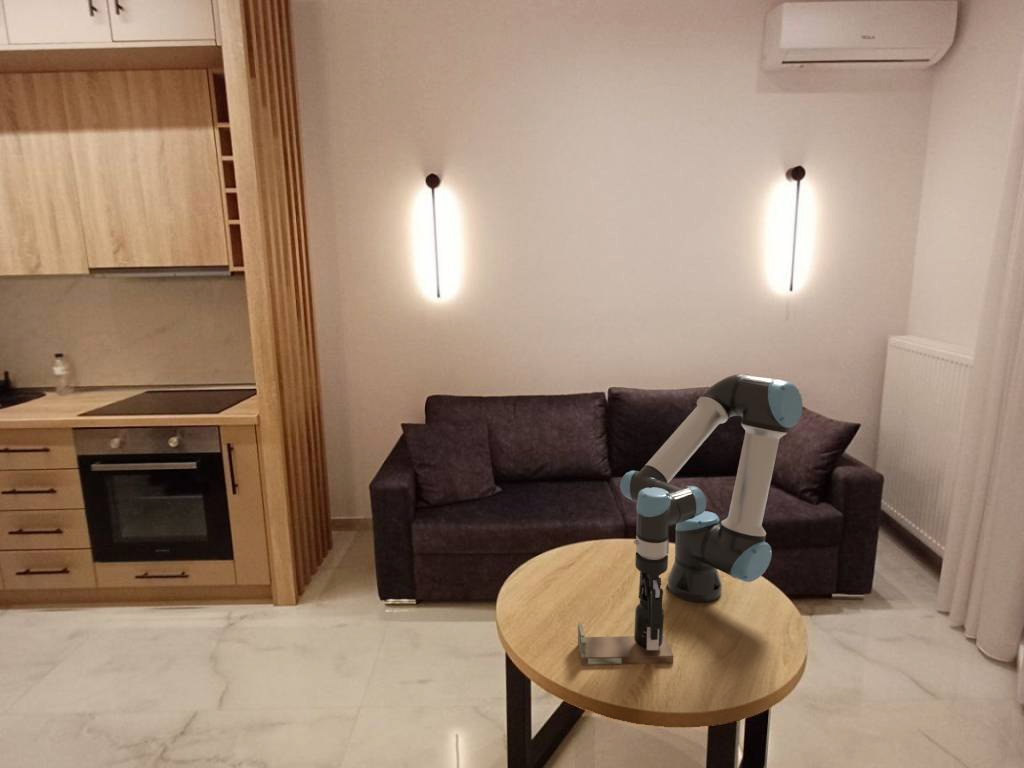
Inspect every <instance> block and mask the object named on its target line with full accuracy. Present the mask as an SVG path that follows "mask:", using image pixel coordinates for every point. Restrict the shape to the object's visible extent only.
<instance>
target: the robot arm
mask: <svg viewBox="0 0 1024 768" xmlns="http://www.w3.org/2000/svg"><path fill="white" fill-rule="evenodd" d="M802 413H803V397H802V394H801V393H800V390H799V388H798V387H797V386H796V385H795V384H794V383H793V382H790V381H786V380H783V379H779V378H769V377H762V376H758V375H750V374H745V373H737V374H733V375H729V376H727V377H725V378H723V379H721V380H719V381H717V382H716V383H714V384H713V385H711V386H710V387H708V388H707V389H706V391H704V392H703V393H702V394H701V396H700V397H699V398H697V400H696V407H695V408H694V409H693V410H692V412H690V414H689V415H688V416H686V419H684V420H683V422H681V424H680V425H679V426H678V427H677V428H676V430H674V432H673V433H672V434H671V435H670V436H669V438H668V439H667V440H666V441H665V442H664V443H663V444H662V445H661V447H660V448H659V449H658V450H657V451H656V452H655V453H654V454H653V456H652V457H651V458H650V459H649V460H648V461H647V463H645V465H644V466H643V467H642V468H641V469H640V470H639V471H638V470H630V471H628V472H626V473H625V474H624V475H623V476H622V479H620V480H621V481H620V486H619V487H620V490H621V494H622V495H623V496H624V497H626V498H627V499H629V500H631V501H632V502H634V503H636V507H635V510H636V536H635V537H636V539H634V540H633V543H634V544H635V550H636V552H635V563H634V564H635V568H636V569H637V570H638V571H639V585H638V586H639V588H638V599H639V600H640V596H641V594H642V593H645V595H646V596H647V598H648V620H649V623H648V624H646V627H647V650H659V629H662V609H663V595H664V589H663V588H661V586H662V578H661V577H660V576H661V575H662V574H664V573H666V571H668V568H669V567H668V565H669V556H668V554H669V550H670V549H669V548H670V547H669V546H670V544H669V543H670V527H672V526H674V525H675V535H674V536H675V541H674V545H675V546H674V550H675V551H674V563H673V565H672V567H671V570H670V572H669V573H668V574H669V575H668V578H667V588H668V590H669V591H670V592H671V594H673V595H675V597H678V598H680V599H683V600H686V601H687V602H688V601H689V602H695V603H707V602H708V603H709V602H712V601H715V600H717V599H718V598H719V597H721V595H722V588H723V587H722V581H721V578H720V574H719V571H720V572H722V573H724V574H727V575H729V576H731V577H732V578H733V579H737V580H739V581H742V582H746V583H750V582H751V583H752V582H754V581H757V580H758V579H759V578H761V576H762V575H763V574H764V573H765V572H766V571H767V569H768V567H769V565H770V562H771V560H772V553H773V551H772V547H771V545H770V544H769V543H768V542H766V541H765V540H766V535H767V532H766V530H765V529H764V527H763V525H762V524H763V520H764V515H765V511H766V506H767V501H768V495H769V492H770V491H769V490H770V486H771V483H772V482H771V481H772V477H773V473H774V472H773V471H774V467H775V463H776V458H777V454H778V453H777V452H778V448H779V443H780V439H781V438H783V437H784V436H785V435H787V434H788V431H789V428H793V427H795V426H796V425H797V424H798V422H799V420H800V419H801V416H802ZM735 416H736V417H737V416H738V417H741V422H740V425H741V427H742V428H743V429H744V430H745V431H744V432H745V433H744V439H743V444H742V447H741V453H740V458H739V463H738V468H737V473H736V478H735V482H734V487H733V492H732V495H731V496H732V497H731V503H730V505H729V511H728V516H727V517H726V518H725V519H723V520H721V521H720V517H719V516H718V515H717V514H716V513H715V512H711V511H708V510H707V511H706V508H707V498H706V496H705V493H704V492H703V491H702V490H701V489H700V488H699V487H698V486H695V485H688V486H687V485H685V486H683V487H679V486H676V485H674V484H671V483H670V482H671V481H672V479H673V478H674V477H676V475H677V473H678V472H680V471H681V469H682V468H683V467H684V465H686V463H687V462H688V461H689V459H690V458H691V457H692V456H693V455H694V454H695V453H696V452H697V450H698V449H699V448H700V447H701V446H702V445H703V443H704V442H705V441H706V440H707V439H708V438H709V436H710V435H711V434H712V433H713V431H714V430H715V429H716V428H717V427H718V426H719V425H720V424H724V423H726V422H727V421H728V419H730V418H731V417H735ZM648 592H651V593H648Z"/></svg>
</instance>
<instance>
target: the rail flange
mask: <svg viewBox="0 0 1024 768" xmlns="http://www.w3.org/2000/svg"><path fill="white" fill-rule="evenodd" d="M583 626H584V625H583V622H578V623H577V647H578V653H579V657H580V663H581V665H582V666H586V665H588V666H590V665H591V666H592V665H593V666H594V665H601V666H602V665H631V664H632V665H642V664H643V665H644V664H645V665H650V664H673V663H674V654H673V651H672V648H671V646H670V644H669V642H668V640H667V637H666V635H663V640H662V644H661V646H660V647H659V650H647V649H646V648H643V647H641V646H639V645H638V644H637V643H636V642H635V639H634V635H632V636H630V635H629V636H626V635H625V636H623V635H621V636H586V635H585V631H584V627H583Z"/></svg>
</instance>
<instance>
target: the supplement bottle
mask: <svg viewBox="0 0 1024 768" xmlns="http://www.w3.org/2000/svg"><path fill="white" fill-rule="evenodd" d="M648 593H651V592H648ZM634 614H635V615H634V616H635V618H634V632H633V634H634V635H633V636H634V639H635V642H636V643H637V644H638V645H639V646H641V647H643V648H646V649H647V627H646V624H648V623H649V620H648V598H647V596H646V595H645V593H642V594H641V596H640V599H639V603H638V604H637V605H636V607H635V612H634ZM664 622H665V611H664V609H663V608H662V629H659V647H660V646H661V644H662V640H663V636H664Z"/></svg>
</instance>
